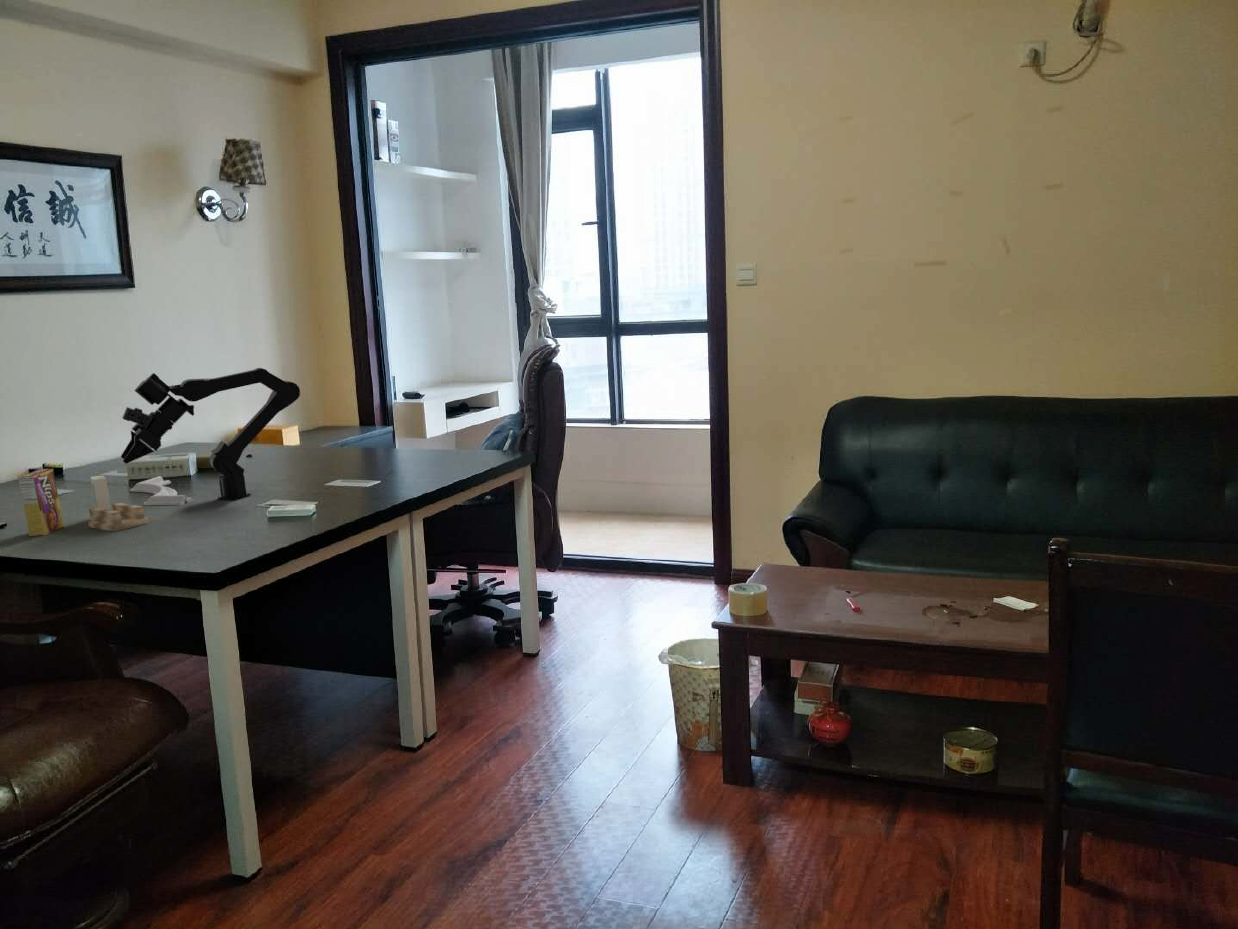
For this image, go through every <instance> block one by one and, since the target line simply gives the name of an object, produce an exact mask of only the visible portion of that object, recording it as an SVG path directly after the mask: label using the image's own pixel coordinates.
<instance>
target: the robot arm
mask: <svg viewBox="0 0 1238 929" xmlns="http://www.w3.org/2000/svg"><path fill="white" fill-rule="evenodd" d="M255 384H262V385H263V386H265V387H266V388H268V389H270V390H271V393H270V395H269V397H268V399H267V400H266V403H265V404H264V405H263V406H262V407H261V408H260V409H259V410H258V411H257V412H256V414H254V415H253V417H252V418H251V419H250V420H249V421H248V422H247V423H246V424H245V425H244V426H243V427H242V429H241V430H239V432H238V433H237V434H236V435H235V436H234V437H233V438H232V439H231V440H229V441H228V442H226V443H225V442H224V440H221V441H220V442H219V443H218V444H217V445H216V446H217V447H215V448H213V449H212V450H210V452H211V455H210V456H209V464H210V466H211V467H212V468H213V469H214V470H215V471H216V472H217V473H219V474H220V476H219V477H218V479H219V490H220V496H217V499H218V500H230V501H234V500H235V501H236V500H238V499H242V498H245V497H248V496H252V493H250V492H249V493H247V489H246V488H247V487H246V486H247V485H246V480H245V474H244V472H245V469H244V468H243V467H242V466H240V465H239V464H238V461H239V460H240V459H241V456H242V454H243V452H244V450H245V449H246V448H247V447H248V446H249V445H250V443H251V442H253V440H254V439H255V438H256V437H257V436H258V435H259V434H260V433H261V432H262V431H263V429H264V428H266V427H267V425H269V423H270V422H271V421H272V420H273V418H275V416H276V415H278V414H279V412H281V411H283V410H284V409H286V408H287V407H290V406H291V405H292V404H293V403H294V402H296V401H298V399H299V397H300V396H301V389H300V387H299V385H298V384H296V383H295V382H292V381H290V380H283V379H281V378H279V377H278V376H276V375H274V374H273V373H271V372H269V371H268V370H267V369H265V368H262V367H257V368H254V369H251V370H247V371H242V372H238V373H237V372H236V373H233V374H228V375H222V376H218V377H213V378H189V379H185V380H183V381H182V382H181V383H180V384H175V385H173V384H171V385H168V384H167V383H165V382H164V381H163V380H162V379H161V378H160V377H159V376H158V375H157V374H156V373H155V372H154V373H151V374H150V375H149V376H148V377H146V379H145V380H142V382H140V383H139V385H137V387H136V388H135V389H134V392H135V393H136V394H137V395H139V396H140V397H141V398H143V399H144V400H145V401H146V402H147V403H148V404H150V405H152V406H153V405H154V404H156V405H157V406H158V405H160V404H161V405H160V406H159V407H158V408H157V409H156V410H155V411H151V412H150V413H149V414H148V413H145V412H143V410H142V409H141V408H138V407H135V408H131V407H128V406H127V407H126V408H125V410H124V413H123V414H122V419H123V420H124V421H127V422H132V423H135V425H133V426H132V427H131V430H130V436H131V437H130V441H129V442H128V444H127V445H126V447H125V448H124V450H123V452H122V453H121V455H120V458H122V462H123V463H125V465H126V464H127V465H128V463H132V462H133V461H136V460H138V459H139V458H140V459H141V458H142V457H145V456H148V455H149V454H152V453H155V452H157V451H158V450H159V449H160V448H161V446H162V441H161V440H162V437H163V436H164V435H165V434H166V433H167V432H168V431H171V430H172V429H173V426H174V425H175V424H176V423H177V422H178V421H179V420H180V419H181V418H182V417H183V416H184V415H185V414H186V413H188V414H189V415H191V416H193V417H194V415H195V411H194V410H195V405H193V404H188V403H187V402H186V401H188V402H190V403H191V402H193V403H194V402H199V401H200V400H203V399H205V398H207V397H210V396H211V395H215V394H216V393H219V392H223V391H224V392H225V391H227V390H232V389H237V388H238V389H239V388H241V387H246V386H251V385H255ZM169 392H170V393H171V394H173V395H174V396H177V397H182V398H183V399H184V400H186V401H184V400H183V399H182V398H178V399H175V397H173V395H171V394H169ZM167 397H168V398H167ZM166 398H167V399H166ZM165 399H166V400H165Z"/></svg>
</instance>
